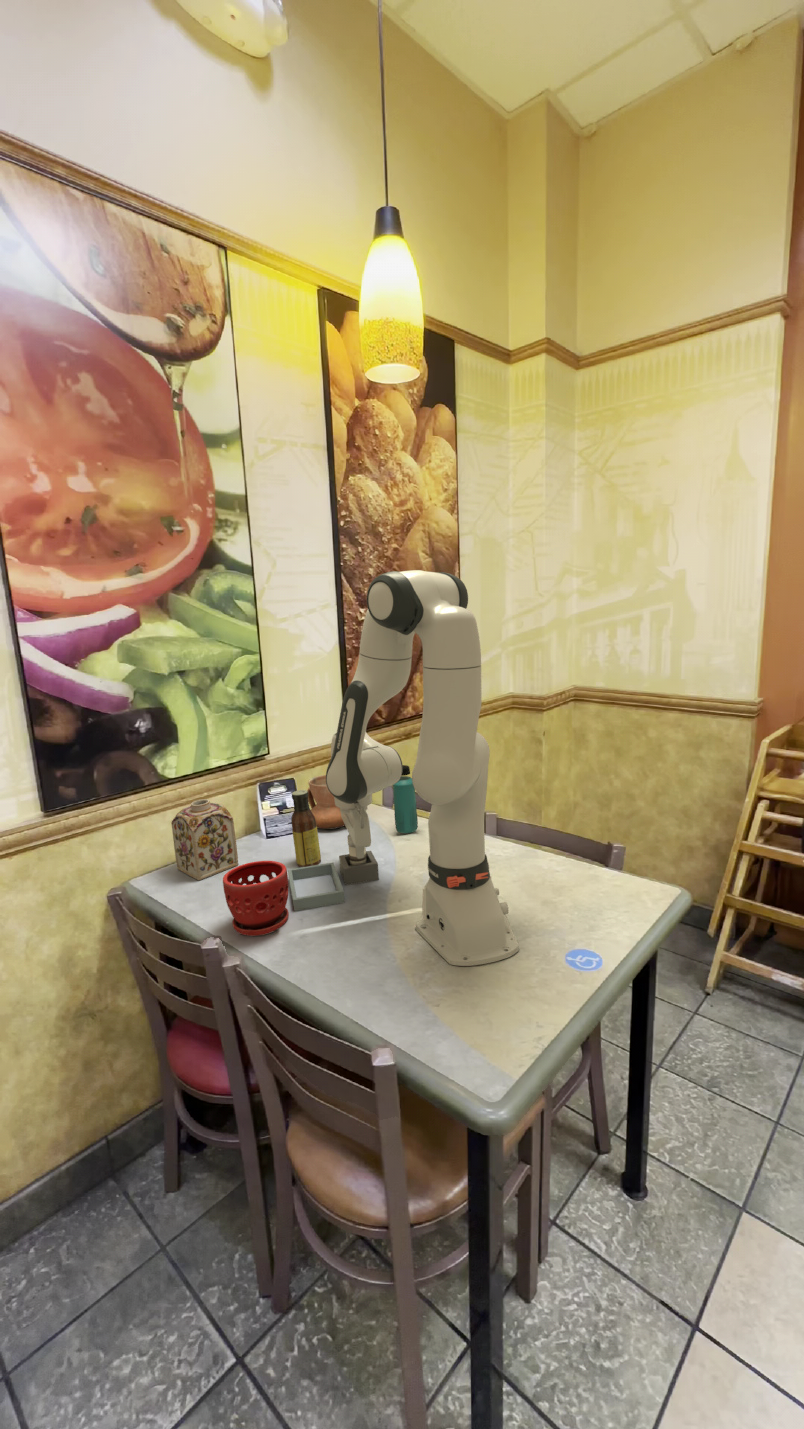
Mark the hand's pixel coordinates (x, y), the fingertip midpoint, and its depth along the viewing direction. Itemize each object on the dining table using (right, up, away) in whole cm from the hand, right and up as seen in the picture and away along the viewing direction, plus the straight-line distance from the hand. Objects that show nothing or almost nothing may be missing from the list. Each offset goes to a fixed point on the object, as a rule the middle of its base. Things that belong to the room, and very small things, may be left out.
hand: (357, 851), depth 145 cm
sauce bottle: (-13, -6, +10) cm, 18 cm away
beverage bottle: (+12, -2, +28) cm, 30 cm away
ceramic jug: (-11, -1, +39) cm, 41 cm away
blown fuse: (0, -6, +1) cm, 6 cm away
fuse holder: (0, -7, +1) cm, 7 cm away
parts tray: (-9, -9, -5) cm, 14 cm away
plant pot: (-19, -12, -17) cm, 28 cm away
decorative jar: (-40, -7, +13) cm, 43 cm away
